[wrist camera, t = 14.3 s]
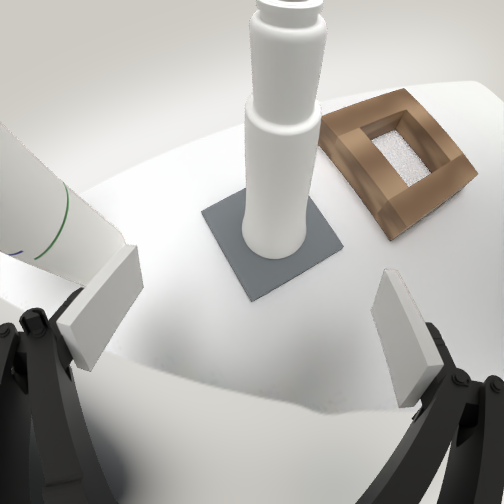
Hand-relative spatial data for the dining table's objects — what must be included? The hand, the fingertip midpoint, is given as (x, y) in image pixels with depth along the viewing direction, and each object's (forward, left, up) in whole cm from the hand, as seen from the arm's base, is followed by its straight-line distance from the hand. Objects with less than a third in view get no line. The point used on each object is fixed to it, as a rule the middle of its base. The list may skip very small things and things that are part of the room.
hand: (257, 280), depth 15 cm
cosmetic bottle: (+6, -5, -11) cm, 14 cm away
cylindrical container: (+13, +13, -12) cm, 21 cm away
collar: (+6, -21, -12) cm, 25 cm away
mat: (+6, -4, -12) cm, 14 cm away
